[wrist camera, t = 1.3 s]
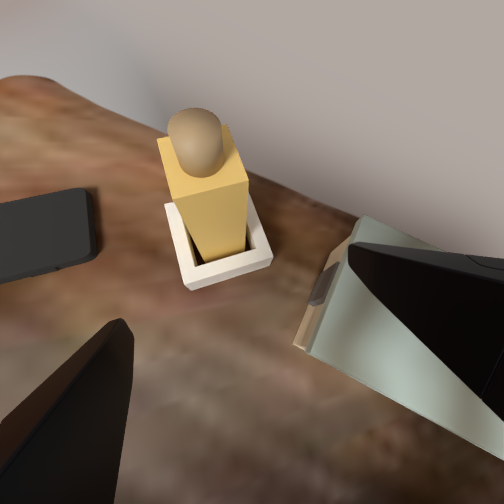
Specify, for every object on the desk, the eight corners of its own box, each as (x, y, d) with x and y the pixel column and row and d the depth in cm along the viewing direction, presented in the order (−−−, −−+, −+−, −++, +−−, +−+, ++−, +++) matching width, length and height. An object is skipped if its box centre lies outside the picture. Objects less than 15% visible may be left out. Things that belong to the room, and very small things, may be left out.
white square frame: (269, 265, 23) (273, 256, 20) (191, 290, 22) (184, 284, 19) (244, 200, 25) (245, 183, 22) (173, 219, 24) (164, 204, 21)
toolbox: (529, 345, 22) (698, 353, 14) (520, 473, 18) (738, 585, 10) (326, 246, 24) (370, 204, 16) (284, 344, 20) (312, 353, 12)
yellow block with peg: (244, 253, 23) (250, 151, 10) (206, 265, 22) (158, 173, 9) (232, 220, 24) (224, 89, 11) (196, 230, 24) (141, 104, 10)
